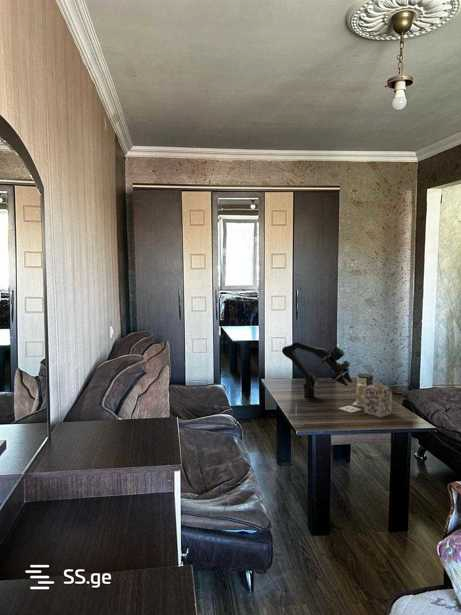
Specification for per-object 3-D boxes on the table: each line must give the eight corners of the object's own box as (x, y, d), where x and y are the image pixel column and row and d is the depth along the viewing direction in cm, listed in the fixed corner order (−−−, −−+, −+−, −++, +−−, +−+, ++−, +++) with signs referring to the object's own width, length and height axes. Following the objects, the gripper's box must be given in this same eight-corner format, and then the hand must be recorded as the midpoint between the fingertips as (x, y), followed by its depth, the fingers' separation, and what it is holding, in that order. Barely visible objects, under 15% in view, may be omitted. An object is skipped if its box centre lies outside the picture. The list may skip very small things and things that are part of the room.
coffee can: (372, 394, 308) (372, 373, 307) (373, 398, 298) (374, 377, 297) (356, 393, 310) (356, 373, 309) (357, 397, 300) (357, 376, 299)
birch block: (356, 404, 283) (356, 385, 282) (358, 402, 287) (358, 383, 286) (364, 405, 280) (364, 386, 279) (366, 403, 284) (366, 384, 283)
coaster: (351, 405, 282) (351, 404, 282) (356, 401, 290) (356, 401, 290) (366, 407, 277) (366, 406, 277) (370, 403, 285) (370, 403, 285)
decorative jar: (363, 412, 267) (363, 382, 265) (374, 409, 274) (375, 379, 272) (380, 417, 257) (381, 386, 256) (392, 413, 264) (393, 383, 263)
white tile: (338, 408, 275) (338, 408, 275) (349, 406, 280) (349, 405, 280) (351, 412, 266) (351, 412, 266) (362, 409, 272) (362, 409, 272)
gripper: (337, 359, 280) (354, 379, 275) (346, 354, 296) (363, 373, 291) (324, 370, 285) (341, 390, 280) (334, 365, 301) (350, 383, 296)
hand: (349, 384), depth 287 cm, fingers open, 9 cm apart
